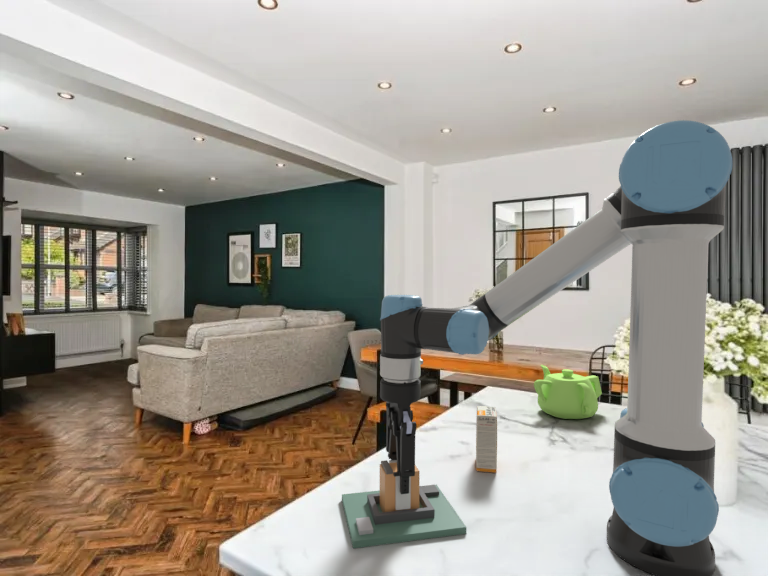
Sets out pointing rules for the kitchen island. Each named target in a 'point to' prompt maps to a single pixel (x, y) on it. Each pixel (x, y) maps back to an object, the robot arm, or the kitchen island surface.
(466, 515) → the kitchen island surface
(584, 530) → the kitchen island surface
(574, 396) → the teapot
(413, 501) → the plug
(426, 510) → the header board
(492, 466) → the supplement box
